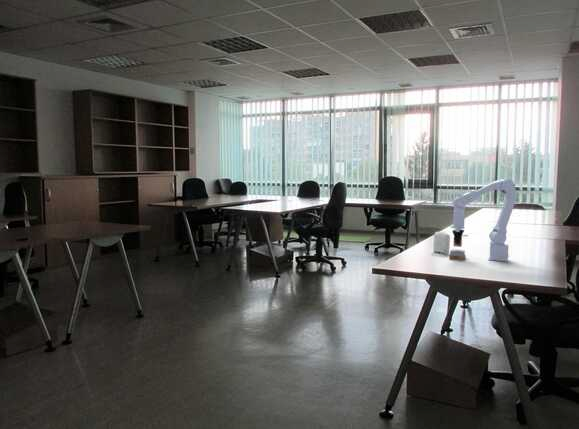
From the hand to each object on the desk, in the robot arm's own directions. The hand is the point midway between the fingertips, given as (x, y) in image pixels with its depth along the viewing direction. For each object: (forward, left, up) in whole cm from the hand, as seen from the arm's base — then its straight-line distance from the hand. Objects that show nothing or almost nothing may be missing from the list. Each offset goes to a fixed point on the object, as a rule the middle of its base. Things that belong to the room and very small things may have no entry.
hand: (457, 243), depth 264 cm
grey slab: (0, 0, -6) cm, 6 cm away
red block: (0, 0, -2) cm, 2 cm away
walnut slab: (0, 0, -9) cm, 9 cm away
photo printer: (+10, -16, -9) cm, 21 cm away
